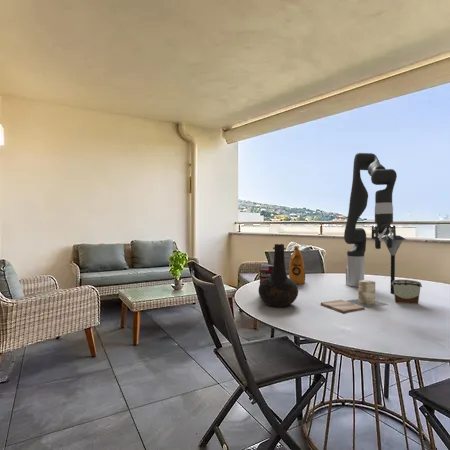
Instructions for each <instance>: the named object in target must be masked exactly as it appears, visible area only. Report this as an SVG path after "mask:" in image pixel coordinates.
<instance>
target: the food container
mask: <svg viewBox="0 0 450 450" xmlns="http://www.w3.org/2000/svg"><path fill="white" fill-rule="evenodd" d="M392 285H393V287H394V302H395V303H401V304H416V305H419V302H420V301H419V300H420V292H421V288H423V286H422V283H421V282H420V281H417V280H413V279H412V280H411V279H395V280H393V282H392Z"/></svg>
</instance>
